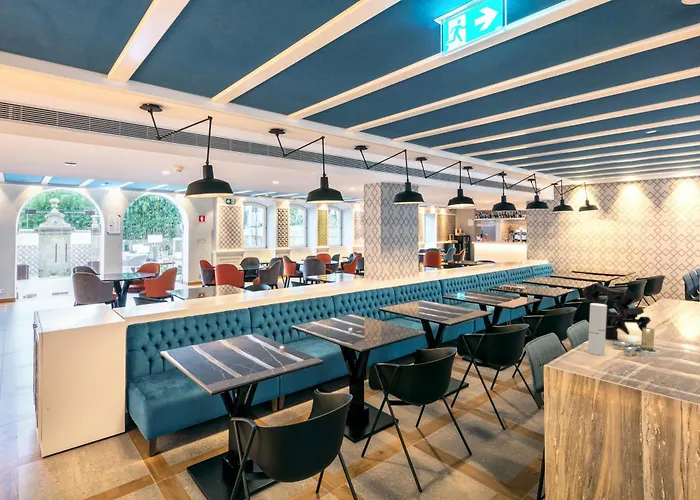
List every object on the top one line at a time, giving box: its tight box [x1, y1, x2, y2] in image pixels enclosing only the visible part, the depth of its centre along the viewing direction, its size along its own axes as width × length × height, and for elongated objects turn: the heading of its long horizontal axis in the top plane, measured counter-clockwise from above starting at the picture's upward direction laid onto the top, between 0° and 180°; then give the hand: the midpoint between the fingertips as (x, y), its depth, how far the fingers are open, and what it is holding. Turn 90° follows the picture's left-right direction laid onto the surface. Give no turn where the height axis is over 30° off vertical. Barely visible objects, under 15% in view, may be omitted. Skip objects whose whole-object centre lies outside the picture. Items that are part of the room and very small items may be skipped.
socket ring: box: [639, 348, 660, 358], centre depth 197 cm, size 10×10×2 cm
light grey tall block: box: [587, 303, 608, 356], centre depth 196 cm, size 7×7×25 cm
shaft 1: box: [612, 340, 634, 350], centre depth 204 cm, size 8×3×5 cm, turn 52°
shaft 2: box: [623, 345, 642, 357], centre depth 194 cm, size 8×3×5 cm, turn 107°
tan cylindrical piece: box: [640, 327, 655, 352], centre depth 197 cm, size 6×6×13 cm
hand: (637, 334), depth 204 cm, fingers open, 9 cm apart
